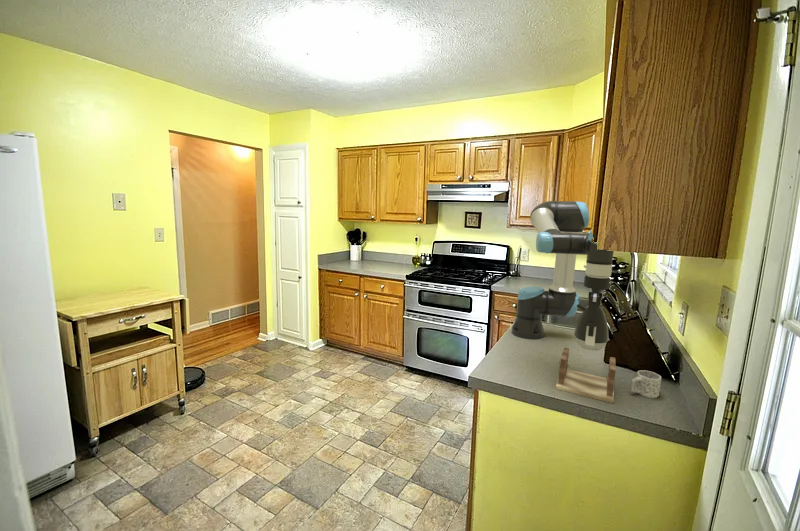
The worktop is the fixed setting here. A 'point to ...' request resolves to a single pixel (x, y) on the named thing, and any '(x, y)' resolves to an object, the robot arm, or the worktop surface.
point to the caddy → (586, 381)
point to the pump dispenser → (601, 329)
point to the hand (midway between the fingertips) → (590, 340)
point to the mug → (646, 384)
